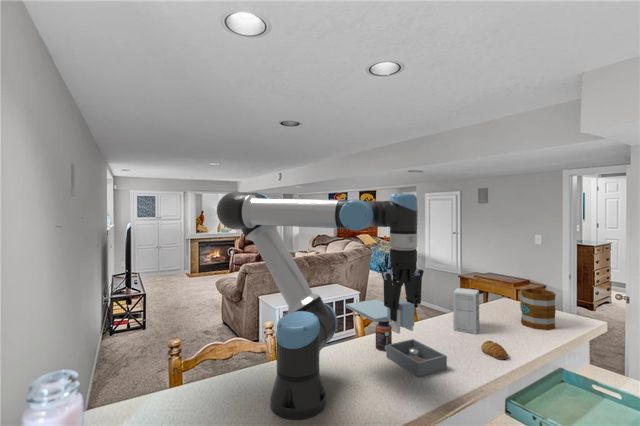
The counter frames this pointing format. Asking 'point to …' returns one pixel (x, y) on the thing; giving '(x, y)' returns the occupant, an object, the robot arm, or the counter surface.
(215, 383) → the counter surface
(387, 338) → the supplement bottle
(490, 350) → the pastry
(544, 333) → the counter surface
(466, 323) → the supplement box
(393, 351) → the tub
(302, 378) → the robot arm
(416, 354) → the ball
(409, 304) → the lid
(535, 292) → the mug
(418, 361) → the walnut block
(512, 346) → the counter surface
